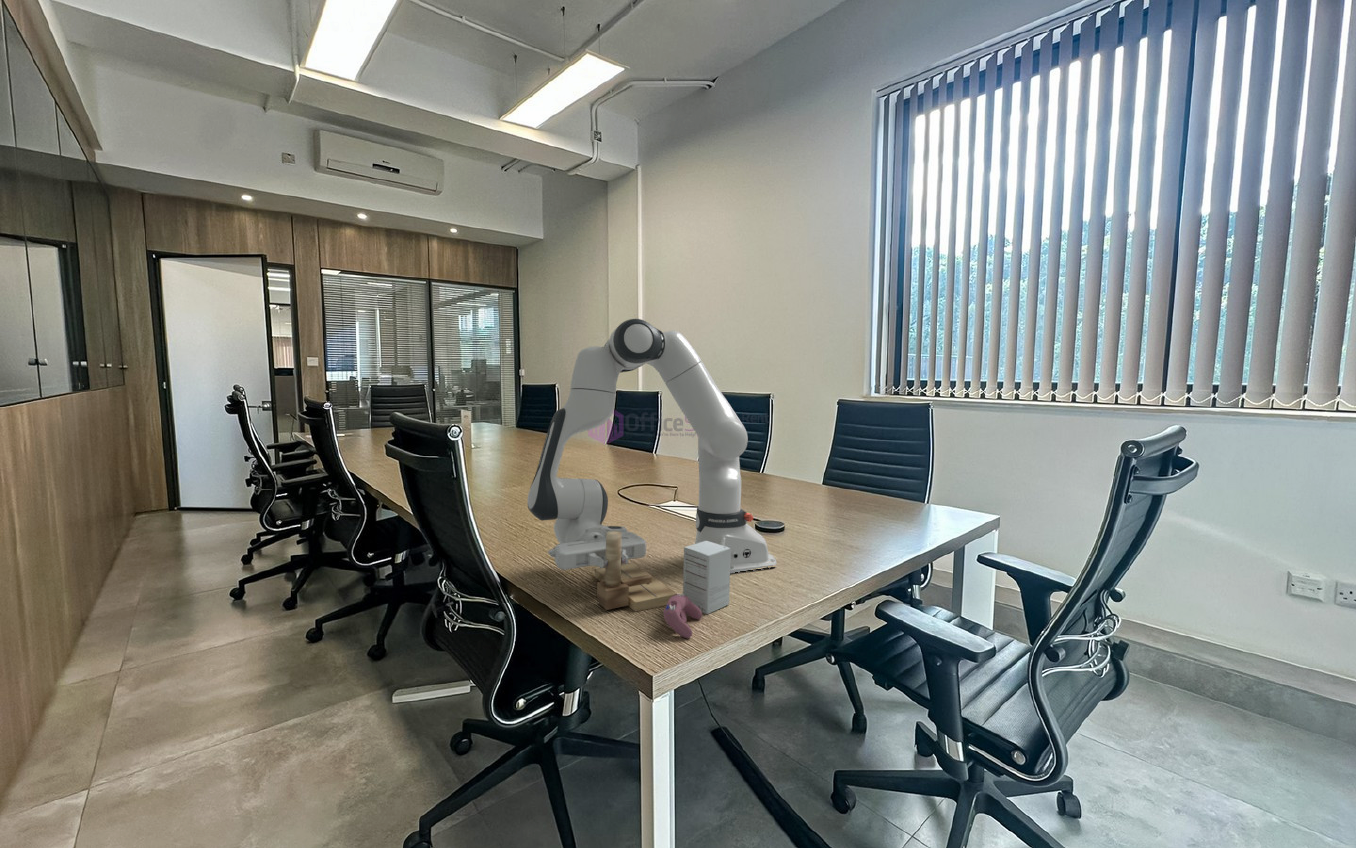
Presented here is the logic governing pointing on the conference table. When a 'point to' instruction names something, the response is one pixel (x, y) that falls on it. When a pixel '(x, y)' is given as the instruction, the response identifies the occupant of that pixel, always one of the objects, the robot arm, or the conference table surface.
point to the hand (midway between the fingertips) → (615, 562)
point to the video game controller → (681, 614)
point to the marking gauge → (616, 576)
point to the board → (641, 588)
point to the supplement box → (707, 575)
